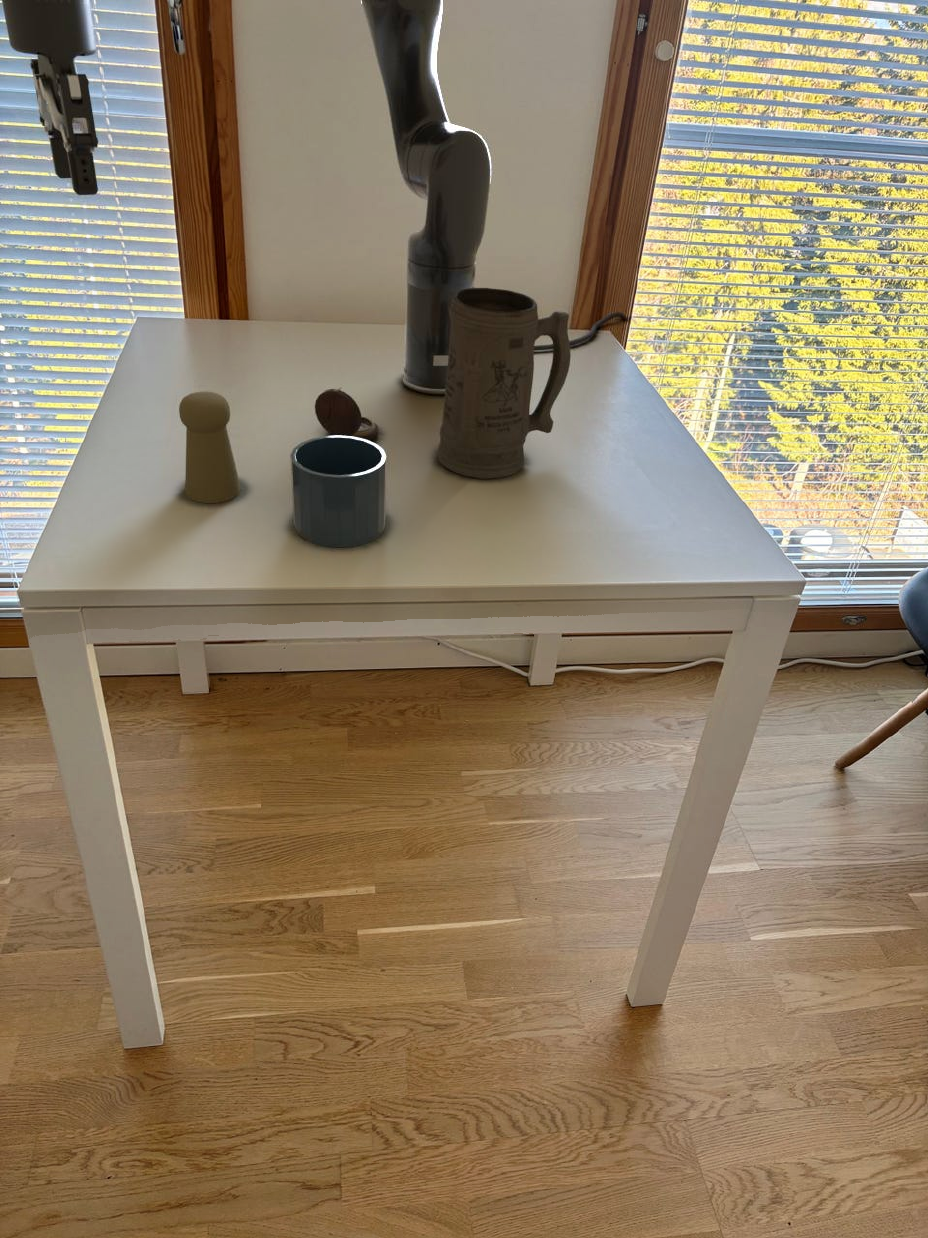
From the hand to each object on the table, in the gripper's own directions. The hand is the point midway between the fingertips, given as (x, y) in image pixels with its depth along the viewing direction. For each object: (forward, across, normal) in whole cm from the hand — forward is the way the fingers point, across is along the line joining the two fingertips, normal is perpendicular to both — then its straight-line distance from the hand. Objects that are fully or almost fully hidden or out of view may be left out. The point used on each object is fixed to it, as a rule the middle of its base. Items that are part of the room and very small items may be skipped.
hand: (76, 185), depth 92 cm
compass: (+29, -8, -26) cm, 39 cm away
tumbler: (+28, -28, -16) cm, 43 cm away
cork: (+29, -16, -6) cm, 33 cm away
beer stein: (+28, -21, -41) cm, 54 cm away
